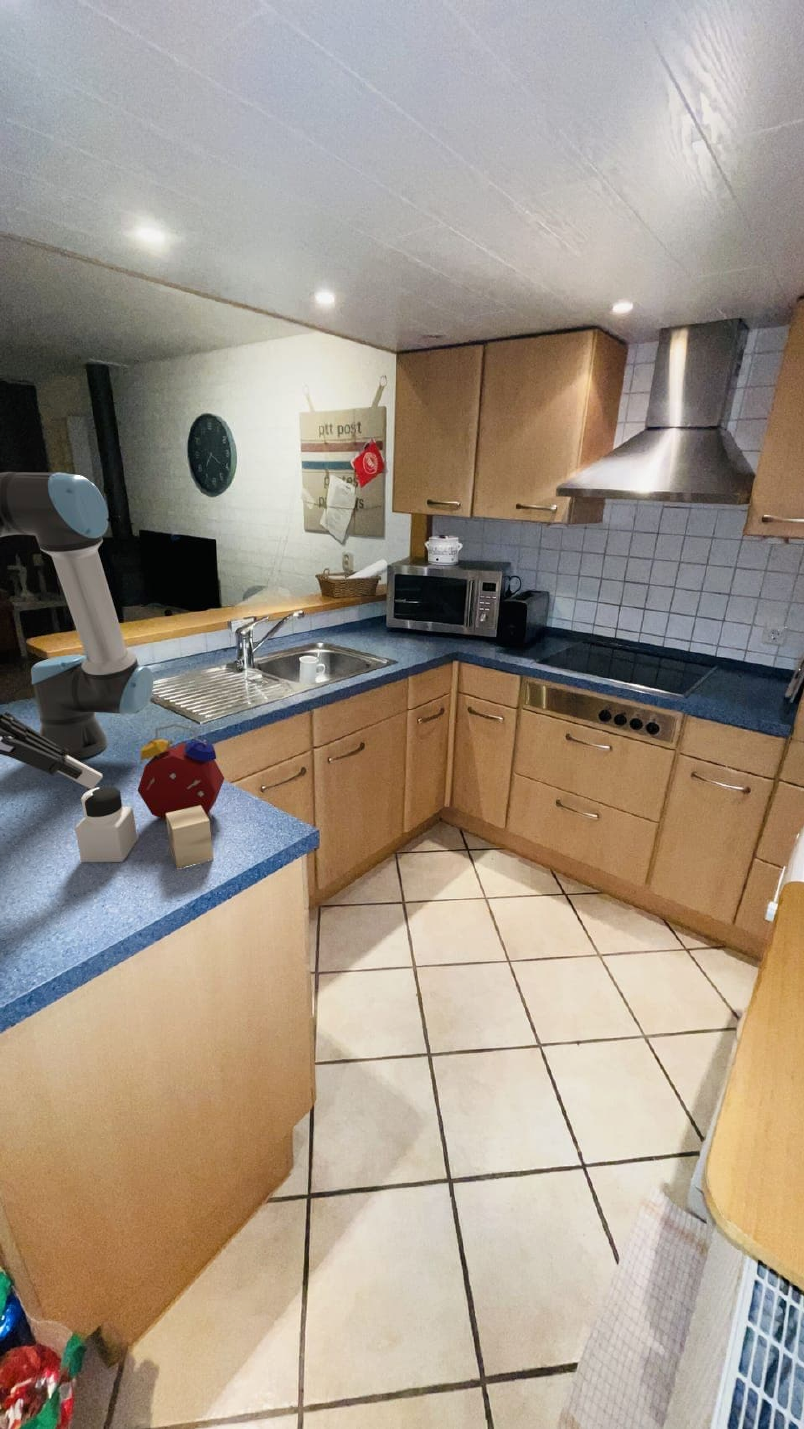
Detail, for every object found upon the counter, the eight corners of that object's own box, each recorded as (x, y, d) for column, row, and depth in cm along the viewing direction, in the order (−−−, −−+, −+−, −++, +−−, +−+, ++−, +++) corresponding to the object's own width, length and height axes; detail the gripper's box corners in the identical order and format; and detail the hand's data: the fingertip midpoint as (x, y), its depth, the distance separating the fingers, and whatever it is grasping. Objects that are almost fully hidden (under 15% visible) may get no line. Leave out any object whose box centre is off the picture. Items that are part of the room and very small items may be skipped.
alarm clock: (227, 810, 119) (219, 718, 112) (215, 833, 111) (205, 736, 104) (155, 808, 119) (142, 717, 112) (136, 831, 111) (122, 734, 104)
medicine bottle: (138, 840, 108) (129, 782, 104) (123, 862, 101) (112, 801, 97) (98, 840, 108) (88, 782, 104) (80, 863, 101) (68, 801, 97)
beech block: (170, 852, 105) (165, 813, 102) (204, 843, 108) (200, 805, 105) (177, 869, 100) (172, 829, 97) (213, 859, 103) (209, 820, 100)
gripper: (-61, 711, 90) (79, 783, 105) (-72, 740, 80) (85, 816, 94) (-28, 673, 91) (107, 750, 105) (-34, 698, 81) (116, 779, 95)
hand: (96, 781), depth 100 cm, fingers closed
